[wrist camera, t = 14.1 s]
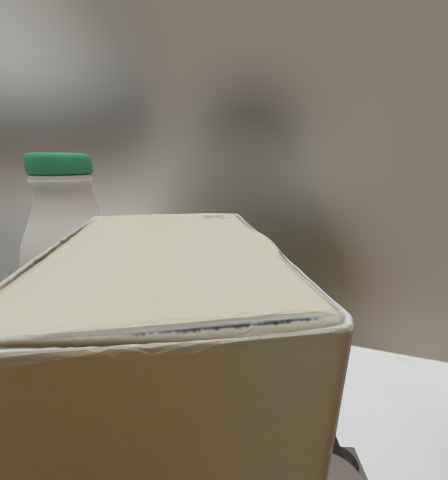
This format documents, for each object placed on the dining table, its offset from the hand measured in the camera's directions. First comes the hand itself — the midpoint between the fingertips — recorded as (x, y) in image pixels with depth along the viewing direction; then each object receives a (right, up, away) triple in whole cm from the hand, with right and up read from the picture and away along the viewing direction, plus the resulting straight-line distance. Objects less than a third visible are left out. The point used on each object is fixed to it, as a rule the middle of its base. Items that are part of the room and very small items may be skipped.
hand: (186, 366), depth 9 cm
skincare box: (0, -8, -1) cm, 8 cm away
